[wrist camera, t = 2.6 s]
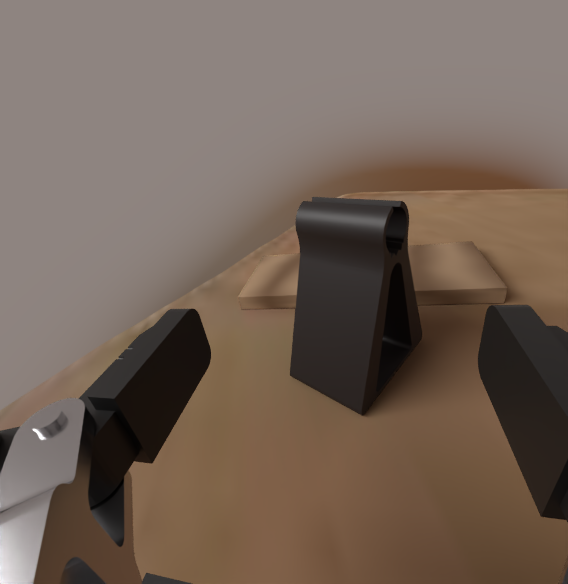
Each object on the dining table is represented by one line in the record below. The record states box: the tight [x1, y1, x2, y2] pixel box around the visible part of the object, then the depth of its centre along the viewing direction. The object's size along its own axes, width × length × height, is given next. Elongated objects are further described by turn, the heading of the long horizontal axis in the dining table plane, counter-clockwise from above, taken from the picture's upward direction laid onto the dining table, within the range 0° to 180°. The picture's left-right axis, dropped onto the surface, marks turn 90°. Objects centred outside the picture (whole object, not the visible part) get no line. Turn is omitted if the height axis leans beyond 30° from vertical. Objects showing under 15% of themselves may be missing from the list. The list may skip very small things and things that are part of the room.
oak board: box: [238, 241, 507, 309], centre depth 34 cm, size 24×10×2 cm, turn 78°
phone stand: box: [290, 197, 422, 415], centre depth 21 cm, size 9×6×12 cm, turn 137°
